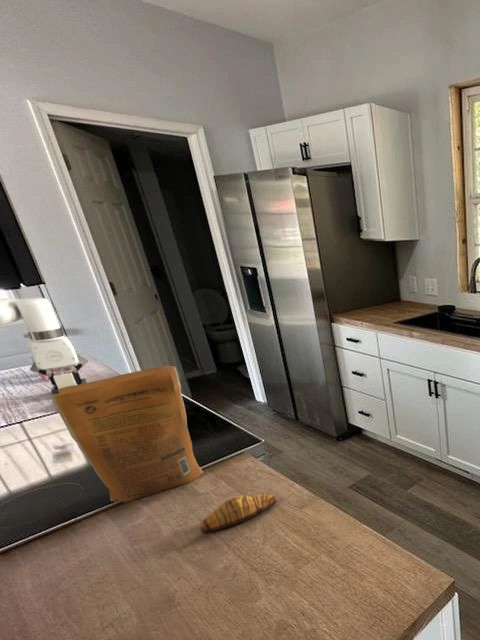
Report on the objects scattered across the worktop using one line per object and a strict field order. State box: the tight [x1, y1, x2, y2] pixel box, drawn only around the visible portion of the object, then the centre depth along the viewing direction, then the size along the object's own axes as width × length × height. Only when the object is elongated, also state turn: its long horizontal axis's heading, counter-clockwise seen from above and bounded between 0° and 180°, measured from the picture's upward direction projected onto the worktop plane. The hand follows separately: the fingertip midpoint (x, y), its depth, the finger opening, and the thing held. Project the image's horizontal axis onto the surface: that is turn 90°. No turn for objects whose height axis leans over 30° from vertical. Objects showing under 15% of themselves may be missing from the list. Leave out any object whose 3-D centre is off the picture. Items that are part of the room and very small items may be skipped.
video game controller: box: [38, 366, 71, 382], centre depth 162 cm, size 10×5×7 cm, turn 149°
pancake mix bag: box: [50, 365, 204, 503], centre depth 88 cm, size 7×19×28 cm, turn 131°
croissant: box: [199, 493, 277, 534], centre depth 83 cm, size 14×7×5 cm, turn 135°
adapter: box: [50, 378, 88, 395], centre depth 148 cm, size 8×10×3 cm
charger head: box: [53, 369, 77, 389], centre depth 147 cm, size 4×6×6 cm
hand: (67, 383), depth 147 cm, fingers closed on charger head, 4 cm apart
